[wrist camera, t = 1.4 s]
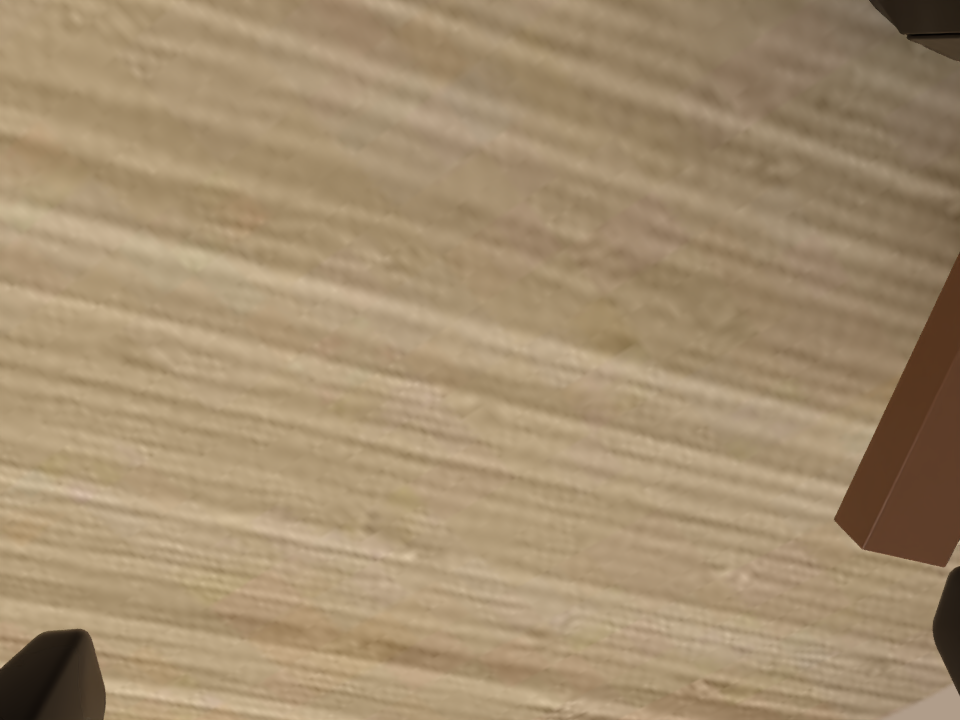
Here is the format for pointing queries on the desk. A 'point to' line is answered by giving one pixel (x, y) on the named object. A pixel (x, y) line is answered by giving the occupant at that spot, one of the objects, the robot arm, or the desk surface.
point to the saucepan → (917, 391)
